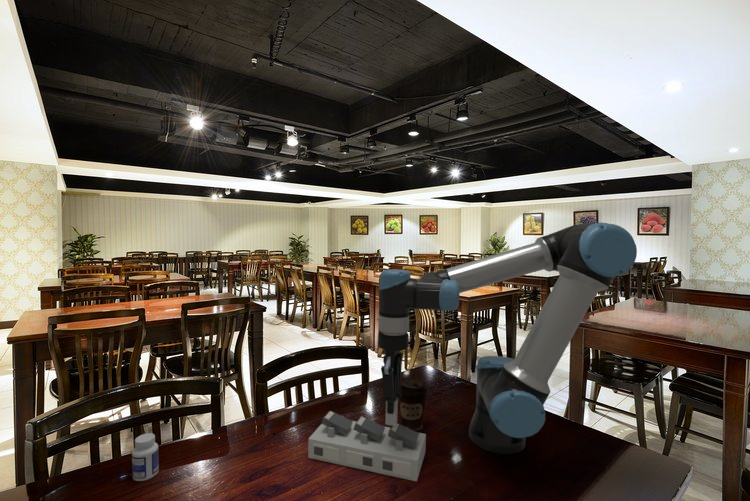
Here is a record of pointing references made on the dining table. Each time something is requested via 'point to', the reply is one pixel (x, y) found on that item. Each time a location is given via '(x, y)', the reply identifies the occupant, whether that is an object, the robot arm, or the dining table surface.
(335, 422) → the switch
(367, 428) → the switch
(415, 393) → the coffee cup
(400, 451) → the console
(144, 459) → the pill bottle
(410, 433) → the switch
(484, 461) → the dining table surface
